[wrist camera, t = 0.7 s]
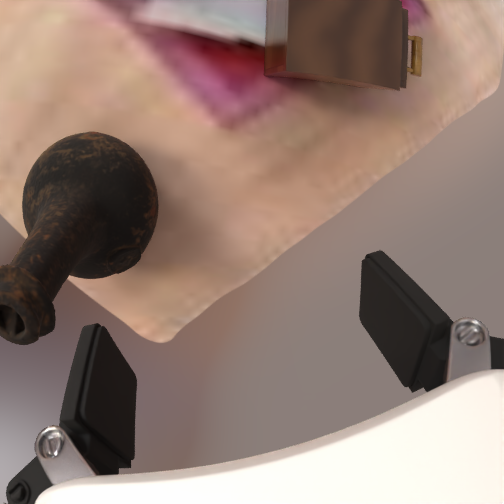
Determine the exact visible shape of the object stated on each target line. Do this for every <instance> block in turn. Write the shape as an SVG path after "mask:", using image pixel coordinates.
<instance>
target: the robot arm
mask: <svg viewBox="0 0 504 504" xmlns="http://www.w3.org/2000/svg"><path fill="white" fill-rule="evenodd" d="M359 317H360V321H361V323H362V325H363V326H364V328H365V329H366V331H367V332H368V333H369V335H370V336H371V338H372V339H373V341H374V342H375V344H376V345H377V347H378V348H379V350H380V351H381V353H382V354H383V356H384V357H385V359H386V360H387V362H388V363H389V365H390V366H391V368H392V369H393V371H394V372H395V374H396V375H397V377H398V378H399V380H400V381H401V383H402V384H403V386H404V387H409V388H410V390H411V391H412V392H415V391H417V390H419V389H421V388H423V387H424V389H425V390H426V391H427V393H425V394H423V395H421V396H419V397H417V398H415V399H413V400H411V401H409V402H406V403H404V404H402V405H400V406H398V407H395V408H393V409H391V410H389V411H387V412H384V413H382V414H380V415H378V416H375V417H373V418H370V419H368V420H366V421H363V422H361V423H358V424H356V425H353V426H351V427H348V428H345V429H342V430H340V431H337V432H334V433H331V434H328V435H326V436H323V437H320V438H317V439H314V440H311V441H307V442H304V443H301V444H298V445H294V446H291V447H287V448H284V449H280V450H276V451H273V452H269V453H265V454H261V455H257V456H252V457H248V458H243V459H239V460H234V461H229V462H224V463H218V464H213V465H207V466H201V467H194V468H188V469H179V470H170V471H161V472H149V473H137V474H121V475H118V474H119V468H131V460H133V459H134V456H135V410H136V390H137V379H136V376H135V373H134V372H133V370H132V369H131V367H130V366H129V364H128V363H127V361H126V360H125V358H124V357H123V355H122V354H121V352H120V350H119V349H118V347H117V346H116V344H115V342H114V341H113V339H112V337H111V336H110V334H109V332H108V331H107V329H106V328H105V327H104V326H102V327H101V325H100V324H98V323H96V324H92V325H87V326H84V327H83V329H82V331H81V335H80V338H79V342H78V345H77V349H76V352H75V356H74V359H73V363H72V367H71V371H70V375H69V379H68V383H67V387H66V391H65V396H64V400H63V405H62V410H61V415H60V424H59V426H55V425H52V426H48V427H46V428H44V429H43V430H42V431H41V432H40V433H39V434H38V436H37V438H36V441H35V452H36V455H37V456H36V457H35V458H34V459H33V460H32V461H31V462H30V463H29V464H28V465H27V466H25V467H24V468H23V469H22V470H21V471H20V472H19V473H18V474H17V475H16V476H15V477H14V478H13V479H12V480H11V481H10V482H9V484H8V486H7V490H6V496H7V500H8V504H504V339H501V338H496V337H491V336H489V331H488V329H487V328H486V326H485V325H484V324H483V323H482V322H480V321H478V320H476V319H474V318H469V317H467V318H466V317H465V318H460V319H458V320H456V321H455V322H453V321H452V320H451V319H450V318H449V316H448V315H447V314H446V313H445V312H444V311H443V310H442V309H441V308H440V307H439V306H438V305H437V304H436V303H435V302H434V301H433V300H432V299H431V298H430V297H429V296H428V295H427V294H426V293H425V292H424V291H423V290H422V289H421V288H420V287H419V286H418V285H417V284H416V283H415V282H414V281H413V280H412V279H411V278H410V277H409V276H408V275H407V274H406V273H405V272H404V271H403V270H402V269H401V268H400V267H399V266H398V265H397V264H396V263H395V262H394V261H393V260H392V259H391V258H389V257H388V256H387V255H386V254H385V253H384V252H383V251H376V252H373V253H370V254H367V255H366V257H365V259H364V260H362V271H361V295H360V311H359ZM4 504H6V503H4Z"/></svg>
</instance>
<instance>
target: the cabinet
mask: <svg viewBox="0 0 504 504" xmlns="http://www.w3.org/2000/svg"><path fill="white" fill-rule="evenodd" d="M401 59H402V1H400V0H267V11H266V37H265V62H264V76H276V77H288V78H299V79H308V80H316V81H323V82H330V83H337V84H343V85H349V86H355V87H360V88H376V89H388V90H399V91H400V79H401Z"/></svg>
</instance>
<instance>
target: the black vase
mask: <svg viewBox="0 0 504 504" xmlns="http://www.w3.org/2000/svg"><path fill="white" fill-rule="evenodd" d="M22 209H23V219H24V224H25V228H26V231H27V233H28V237H27V239H26V240H25V242H24V244H23V245H22V247H21V248H20V250H19V251H18V253H17V254H16V256H15V258H14V259H13V260H12V262H11V264H10V265H8V264H7V265H3V266H1V267H0V336H1V337H3V338H4V339H6V340H7V341H10V342H12V343H15V344H19V345H28V344H31V343H34V342H36V341H37V340H38V338H39V337H41V336H45V335H46V334H48V333H50V332H52V331H53V330H54V327H55V309H54V305H53V303H52V301H53V300H54V298H55V297H56V295H57V293H58V291H59V290H60V288H61V286H62V285H63V283H64V282H65V281H66V279H67V278H68V276H69V275H71V276H74V277H78V278H85V279H97V278H104V277H107V276H111V275H113V274H118V273H121V272H124V271H126V270H128V269H129V268H131V267H133V266H134V265H135V264H136V263H137V262H138V261H139V260H140V258H141V254H142V253H143V252H144V250H145V248H146V247H147V245H148V243H149V241H150V239H151V237H152V235H153V232H154V229H155V226H156V222H157V216H158V196H157V189H156V186H155V183H154V180H153V177H152V175H151V173H150V170H149V169H148V167H147V165H146V164H145V162H144V161H143V159H142V158H141V157H140V156H139V154H138V153H137V152H135V150H133V149H132V148H131V147H130V146H129V145H127V144H126V143H124V142H122V141H121V140H119V139H117V138H115V137H112V136H109V135H106V134H101V133H99V132H87V133H80V134H75V135H71V136H68V137H66V138H64V139H61V140H59V141H58V142H56V143H54V144H53V145H52V146H50V147H49V148H48V149H47V150H46V151H44V152H43V153H42V154H41V156H40V157H39V158H38V159H37V161H36V162H35V164H34V165H33V167H32V169H31V170H30V172H29V175H28V177H27V180H26V183H25V186H24V191H23V201H22Z"/></svg>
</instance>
